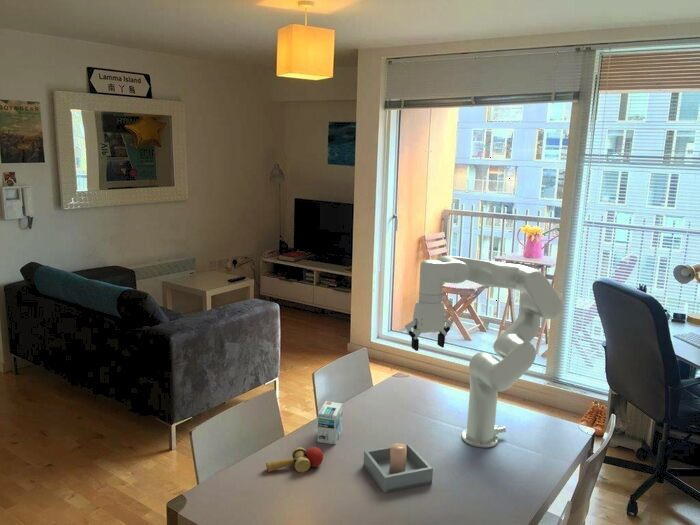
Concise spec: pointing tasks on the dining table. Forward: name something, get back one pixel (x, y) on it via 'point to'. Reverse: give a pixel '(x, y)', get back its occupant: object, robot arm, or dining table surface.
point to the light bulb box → (330, 422)
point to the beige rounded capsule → (398, 458)
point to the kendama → (299, 460)
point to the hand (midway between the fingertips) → (427, 347)
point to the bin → (413, 476)
